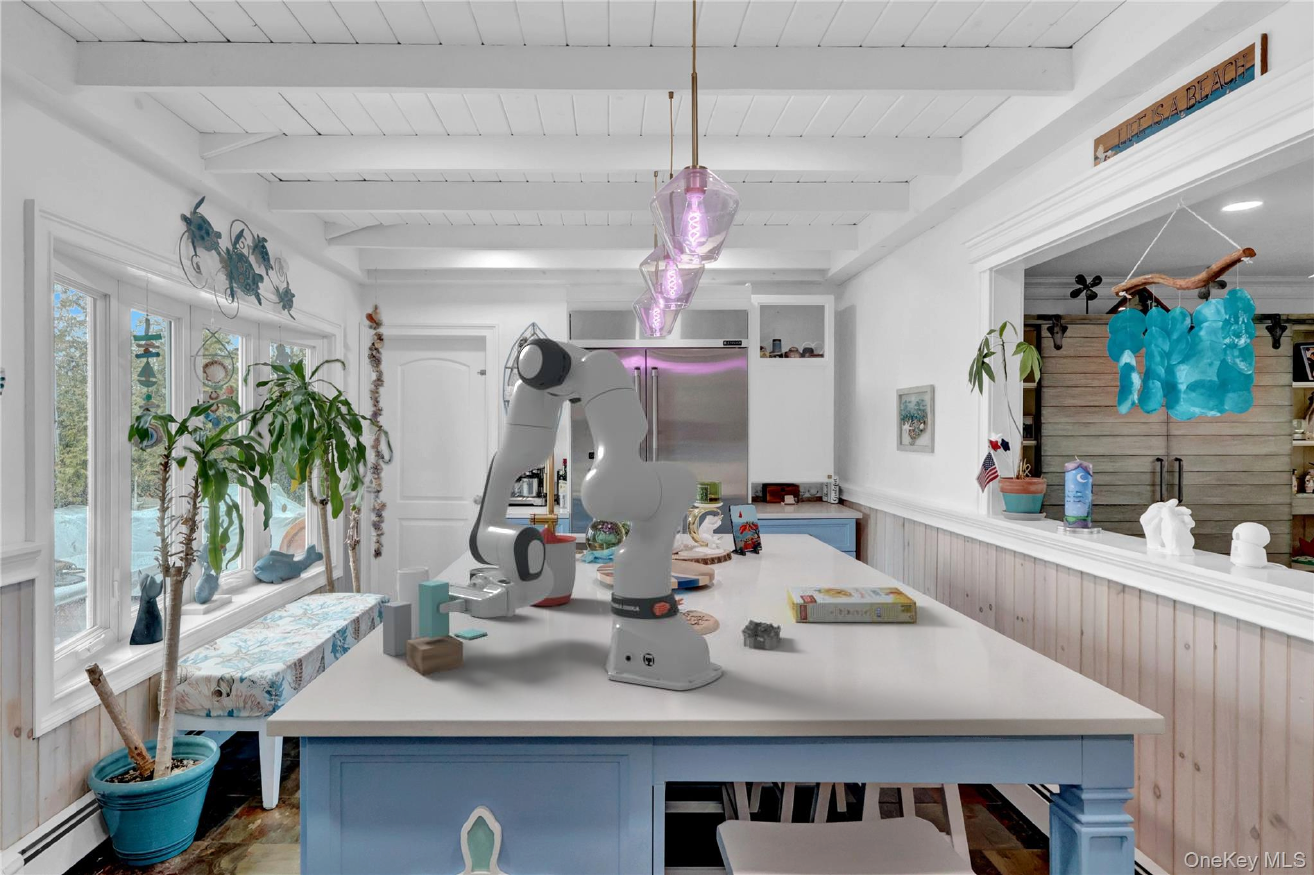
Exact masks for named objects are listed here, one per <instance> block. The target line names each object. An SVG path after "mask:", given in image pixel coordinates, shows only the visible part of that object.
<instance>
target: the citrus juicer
mask: <svg viewBox="0 0 1314 875" xmlns="http://www.w3.org/2000/svg"><path fill="white" fill-rule="evenodd" d="M540 532H541V533H542V535H543V537H544V540H545V545H546V555H545V560H546V564H547V566H548V567H549V568H550V570H551V571H552V574H553V579H554V582H553V588H552V590H551V592H550V594H549V595H548V596H547V597H546V598H545V599H543V600H542V601H540V602H538V603H536V604H533V605H532V606H541V607H542V606H546V607H547V606H549V607H557V606H558V605H563V604H566V603H568V602H570V600H571V598H572V594H573V591H574V586H575V581H576V570H577V569H576V568H577V566H576V565H577V562H576V561H577V560H576V559H577V558H576V556H577V555H576V553H577V552H576V548H577V546H576V540H577V536H576V537H575V536H572V535H566V534H565V535H564V534H563V535H562V534H560V535H559V534H555V531H553V530H552V529H551V528H550V527H544V528H543V529H542V530H541V531H540Z"/></svg>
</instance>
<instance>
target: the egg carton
mask: <svg viewBox="0 0 1314 875" xmlns="http://www.w3.org/2000/svg"><path fill="white" fill-rule="evenodd" d="M781 627H782V626H780V625H779V624H778V625H777V626H774V625H773V623H767V622H761V621H759V622H758V621H755V620H752V619H750V620H749V621H748V624H747V625H745V626H744V627H743V629H742V630H741V633H742V636H743V647H745V648H748V647H749V649H754V650H755V648H756V647H757V648H761V647H762V649H764V650H768V651H770V650H773V649H777V646H778V644H779V641H780V640H781V638H780V637H781V636H780V634H781V632H782V628H781ZM755 635H756V636H755ZM757 635H758V636H757Z"/></svg>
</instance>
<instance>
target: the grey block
mask: <svg viewBox="0 0 1314 875" xmlns="http://www.w3.org/2000/svg"><path fill="white" fill-rule="evenodd" d="M407 640H412V629H411V603H408V602H404V601H398V600H396V601H391V602H387V603H383V604H382V653H383V654H385V655H389V656H391V657H397V656H402V655H405V654H407Z"/></svg>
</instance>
